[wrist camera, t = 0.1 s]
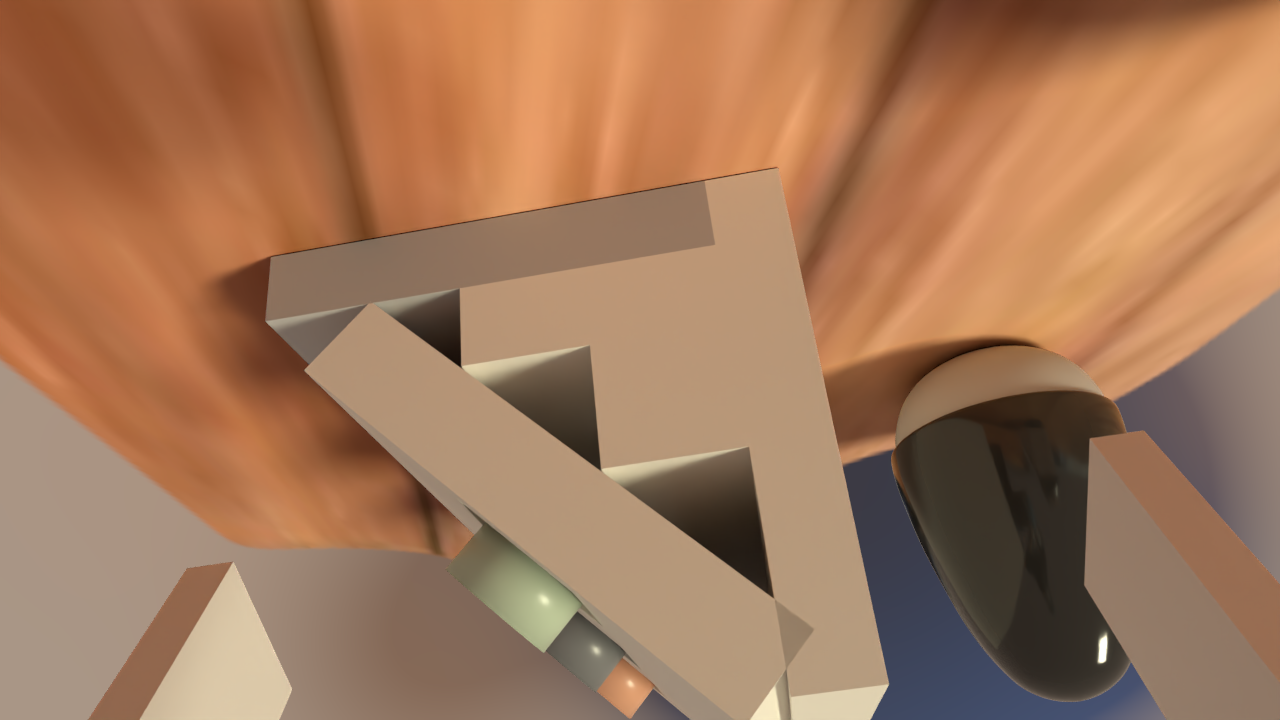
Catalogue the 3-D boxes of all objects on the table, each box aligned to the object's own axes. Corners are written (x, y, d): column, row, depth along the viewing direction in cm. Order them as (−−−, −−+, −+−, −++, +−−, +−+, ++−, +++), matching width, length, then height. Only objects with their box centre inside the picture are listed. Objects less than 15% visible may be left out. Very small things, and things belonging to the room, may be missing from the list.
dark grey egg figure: (874, 431, 52) (945, 730, 45) (873, 343, 43) (961, 702, 36) (1072, 395, 50) (1176, 700, 43) (1113, 297, 41) (1255, 662, 34)
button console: (271, 256, 33) (223, 794, 25) (778, 167, 31) (894, 708, 23) (485, 496, 55) (495, 820, 47) (787, 450, 53) (849, 777, 46)
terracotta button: (553, 618, 45) (559, 721, 43) (649, 604, 44) (660, 708, 42) (571, 635, 48) (577, 731, 46) (660, 622, 48) (671, 718, 46)
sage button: (428, 501, 30) (428, 651, 28) (571, 480, 29) (583, 630, 27) (468, 538, 33) (470, 674, 31) (596, 519, 33) (608, 655, 31)
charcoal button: (503, 571, 37) (508, 693, 35) (618, 555, 37) (630, 677, 35) (529, 595, 41) (534, 707, 39) (634, 580, 41) (645, 693, 38)
